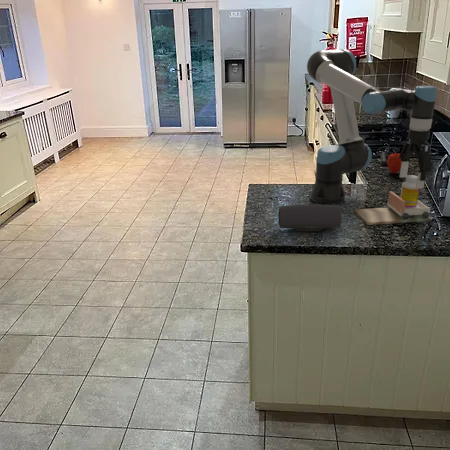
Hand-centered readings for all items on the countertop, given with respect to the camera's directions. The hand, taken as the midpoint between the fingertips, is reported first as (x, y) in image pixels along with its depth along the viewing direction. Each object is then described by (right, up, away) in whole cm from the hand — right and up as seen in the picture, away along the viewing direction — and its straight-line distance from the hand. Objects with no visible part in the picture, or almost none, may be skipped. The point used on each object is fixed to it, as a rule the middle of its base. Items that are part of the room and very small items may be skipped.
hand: (410, 182), depth 178 cm
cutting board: (-6, -13, +5) cm, 15 cm away
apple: (+15, +10, +57) cm, 60 cm away
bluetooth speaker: (-42, -19, -5) cm, 46 cm away
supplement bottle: (0, -10, +4) cm, 11 cm away
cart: (+1, -12, +5) cm, 13 cm away
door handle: (+22, +19, +77) cm, 83 cm away
